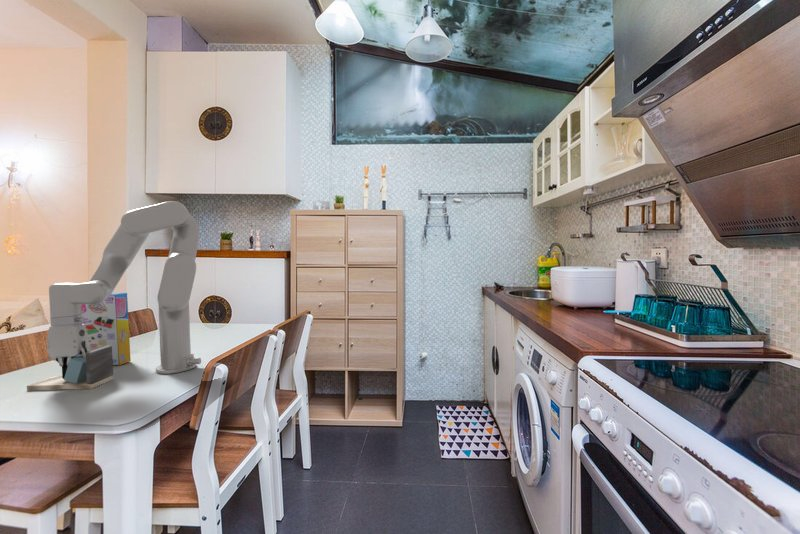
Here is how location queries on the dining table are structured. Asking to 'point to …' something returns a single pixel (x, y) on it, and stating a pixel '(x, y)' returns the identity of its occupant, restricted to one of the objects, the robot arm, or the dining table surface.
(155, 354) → the dining table surface
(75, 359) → the pale blue upright box
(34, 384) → the wooden bookend
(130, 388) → the dining table surface
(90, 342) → the game box
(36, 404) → the dining table surface
